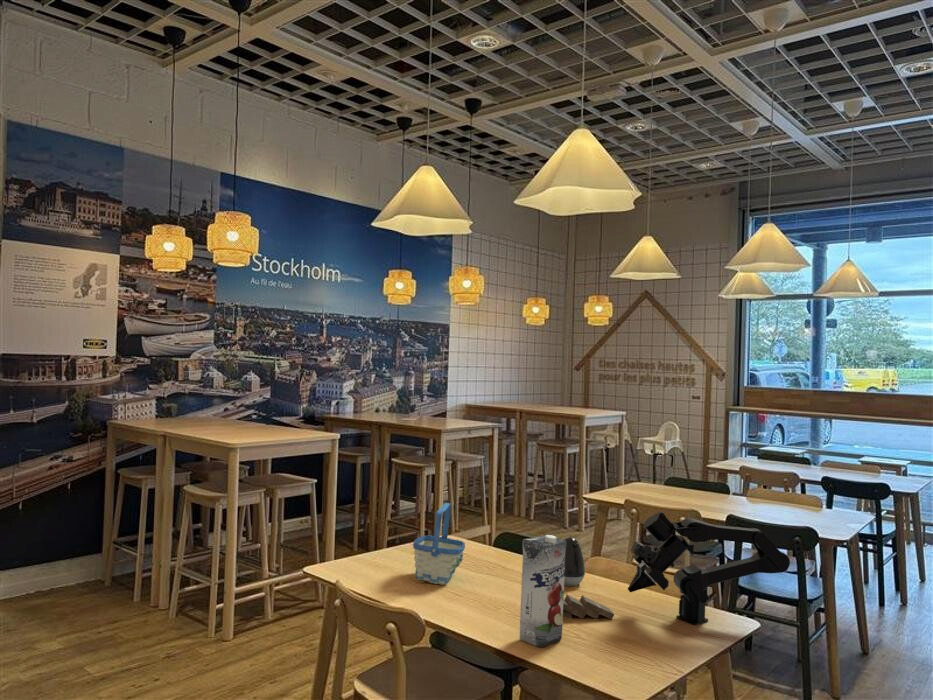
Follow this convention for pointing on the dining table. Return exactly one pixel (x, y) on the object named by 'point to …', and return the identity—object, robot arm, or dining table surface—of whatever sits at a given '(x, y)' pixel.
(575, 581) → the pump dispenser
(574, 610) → the domino
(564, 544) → the juice carton
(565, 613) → the domino
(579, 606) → the domino
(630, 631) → the dining table surface
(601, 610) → the domino
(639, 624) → the dining table surface
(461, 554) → the basket
